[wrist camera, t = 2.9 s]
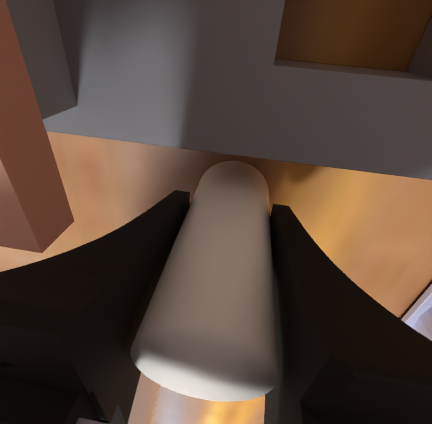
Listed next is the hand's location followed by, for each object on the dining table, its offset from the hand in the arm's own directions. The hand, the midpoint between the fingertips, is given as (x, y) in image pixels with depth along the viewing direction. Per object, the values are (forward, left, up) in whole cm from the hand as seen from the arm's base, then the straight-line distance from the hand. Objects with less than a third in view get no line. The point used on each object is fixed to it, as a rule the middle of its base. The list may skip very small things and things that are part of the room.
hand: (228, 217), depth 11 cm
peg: (0, 0, -2) cm, 2 cm away
